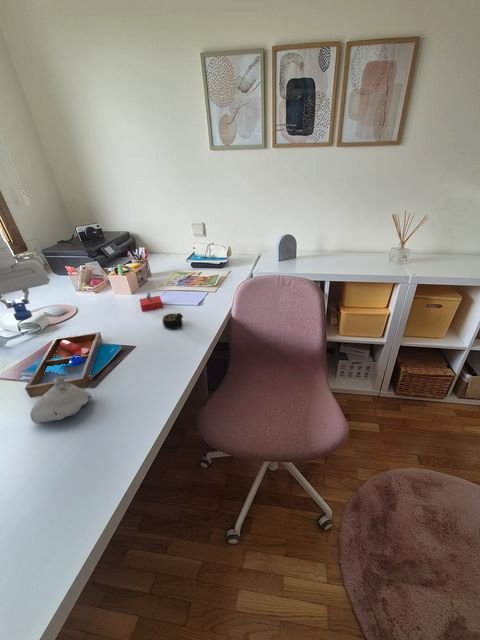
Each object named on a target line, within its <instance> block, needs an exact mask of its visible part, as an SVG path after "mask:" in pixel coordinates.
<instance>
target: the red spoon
mask: <svg viewBox="0 0 480 640" xmlns="http://www.w3.org/2000/svg"><path fill="white" fill-rule="evenodd" d="M60 347H61V348H63V349H65V350H67V351H70V352H72V353H74V355H88V354H89V353H90V352H89V350H88V349H87V348H81V347H80V346H79V345H77V344H74V343H72V342H69V341H67V340H63V341H61V342H60Z"/></svg>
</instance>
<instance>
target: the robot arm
mask: <svg viewBox="0 0 480 640" xmlns="http://www.w3.org/2000/svg"><path fill="white" fill-rule="evenodd" d="M44 265H45V263H44V261H43V258H42V257H41V256H40V255H39V254H38V253H33V252H28V253H25V254H24V253H21V254H15V255H14V253H13V250H12V249H11V246H10V244H9V243H8V242H7V240H6V239H5V237H4V236H3V233H2V229H1V227H0V302H1V303H2V304H4V306H5V307H6V309H7V310H9V309H10V310H11V309H12V308H13V305H12V300H7V299H5V298H4V297H3V295H5V294H10V293H14V292H18V291H21V292H22V293H23V297H20V300H22V301H23V303H24V305H25V306H26V305H29V304H30V301H29V295H30V291H29V289H32V288H37V287H41V286H45V285H49V284H50V282H51V279H50V276H49V275H48V272H47V271H46V270H45V268H44ZM13 309H14V308H13Z"/></svg>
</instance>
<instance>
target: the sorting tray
mask: <svg viewBox="0 0 480 640" xmlns="http://www.w3.org/2000/svg"><path fill="white" fill-rule="evenodd" d="M63 340H67V341H69V342H72V343H74V344H77V345H79V346H80V347H81V348H87V349H88V350H89V352H90V353H89V354H88V355H81V356H74V357H79V358H84V359H85V360H86V361H85V362H84V363H82V364H79V365H76V366H70V365H67V364H68V363H69V361H70V359H71V358H73V357H71V356H73V355H74V353H72V352H70V351H67V350H65V349H63V348H61V347H60V342H61V341H63ZM102 343H103V337H102V334H101V332H92V333H84V334H77V335H69V336H62V337H55V338H53V340H52V342H51V343H50V344H49V347H48V348H47V350H46V352H45V354H44V355H43V357H42V359H41V361H39V364H38V366H37V367H36V369H35V371H34V372H33V374H32V375H31V377H30V378H29V380H28V382H27V384H26V386H25V388H24V390H25V392H26V393H27V394H28V397H30V398H34V397H35V398H36V397H40V396H41V397H42V396H43V395H44V394H45V393H46V392H48V391H49V390H50V389H51V388H52V387H53V386H54V379H55V378H57V377H60V376H63V378H64V381H65V383H70V384H72V385H75V386H76V387H78V388H81V389H87V388H88V385H89V383H90V380H89V375H90V372H91V370H92V367H93V365H94V362H95V363H96V361H95V359H96V360H97V358H96V356H97V357H98V355H97V352H98V349H99V346H100V344H101V345H102ZM58 347H59V348H58ZM100 347H101V346H100ZM57 349H58V350H57ZM99 350H100V349H99ZM56 351H57V352H56ZM98 353H99V352H98ZM54 354H55V355H54ZM57 355H58V356H57ZM53 356H55V357H53ZM56 356H57V357H60V356H61V357H60V358H61V359H54V360H51V359H52V358H57V357H56ZM61 364H66V365H65V366H64V365H63V366H62V367H61V368H60V369H62V368H63V367H64V368H63V370H64V372H63V373H65V371H66V373H67V374H68V375H67V374H62V373H61V374H59V373H57V372H56V373H55V372H51V371H49V372H45V370H46V368H47V366H54V365H61ZM94 366H95V365H94ZM63 370H62V371H63ZM59 371H60V370H59ZM44 373H45V374H44ZM77 374H78V375H79V374H80V375H81V374H82V375H81V376H80V375H79V376H78V375H77ZM75 375H76V376H75Z"/></svg>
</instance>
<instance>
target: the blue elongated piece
mask: <svg viewBox="0 0 480 640" xmlns="http://www.w3.org/2000/svg"><path fill="white" fill-rule="evenodd" d="M11 303H12V305H13V311H14V312H15V313H13V317H14V319H15V320H16V321H20V322H21V321H26V320H29V319H30V318H32V317H33V314H32V312H31V310H29V309H27V307H26V304H25V305H24V303H23V301H22V299H20V298H19V299H18V298H15V299H14V300H12V301H11Z"/></svg>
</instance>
